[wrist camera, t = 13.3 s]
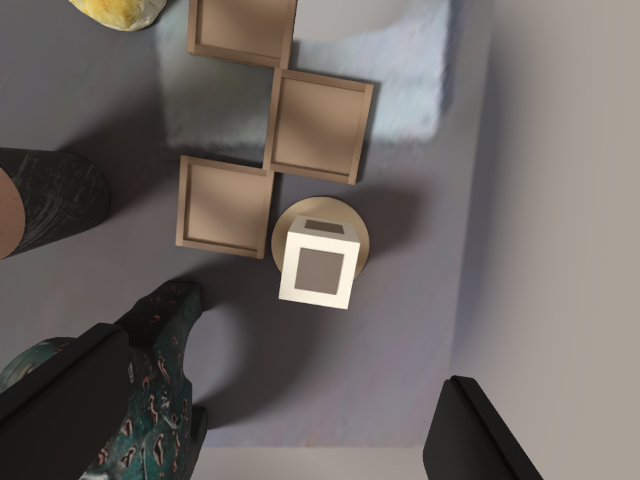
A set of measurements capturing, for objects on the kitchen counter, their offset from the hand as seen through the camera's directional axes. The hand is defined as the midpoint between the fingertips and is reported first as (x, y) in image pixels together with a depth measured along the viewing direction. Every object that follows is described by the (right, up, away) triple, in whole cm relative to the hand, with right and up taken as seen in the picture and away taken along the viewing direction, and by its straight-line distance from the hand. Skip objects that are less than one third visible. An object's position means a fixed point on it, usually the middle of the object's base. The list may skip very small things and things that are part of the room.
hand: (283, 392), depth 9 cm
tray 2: (-7, +7, +19) cm, 22 cm away
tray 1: (-5, +23, +15) cm, 28 cm away
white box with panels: (+1, +4, +20) cm, 20 cm away
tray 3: (+1, +14, +18) cm, 22 cm away
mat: (+1, +4, +20) cm, 20 cm away
